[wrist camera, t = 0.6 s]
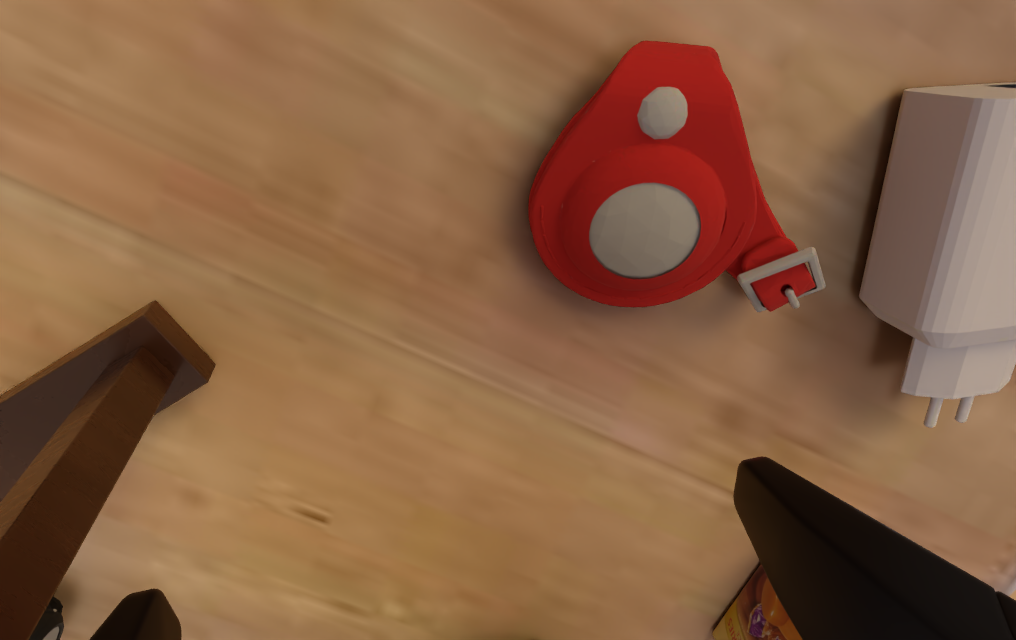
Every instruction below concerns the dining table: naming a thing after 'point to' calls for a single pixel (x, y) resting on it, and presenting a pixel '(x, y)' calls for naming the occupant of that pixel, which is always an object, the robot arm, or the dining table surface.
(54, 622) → the smartwatch
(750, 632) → the candy box
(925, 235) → the charger
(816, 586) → the robot arm
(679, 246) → the tracker holder
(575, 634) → the dining table surface
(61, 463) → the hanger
